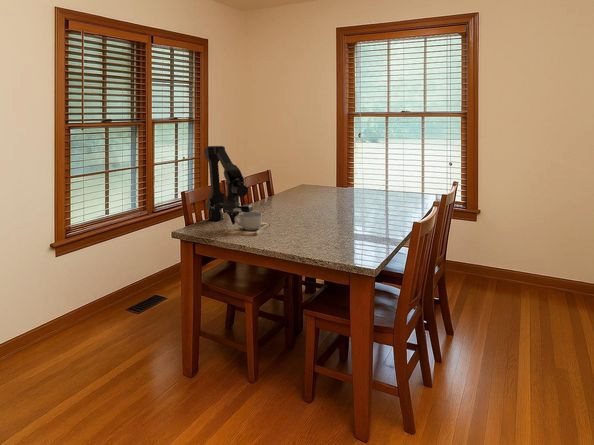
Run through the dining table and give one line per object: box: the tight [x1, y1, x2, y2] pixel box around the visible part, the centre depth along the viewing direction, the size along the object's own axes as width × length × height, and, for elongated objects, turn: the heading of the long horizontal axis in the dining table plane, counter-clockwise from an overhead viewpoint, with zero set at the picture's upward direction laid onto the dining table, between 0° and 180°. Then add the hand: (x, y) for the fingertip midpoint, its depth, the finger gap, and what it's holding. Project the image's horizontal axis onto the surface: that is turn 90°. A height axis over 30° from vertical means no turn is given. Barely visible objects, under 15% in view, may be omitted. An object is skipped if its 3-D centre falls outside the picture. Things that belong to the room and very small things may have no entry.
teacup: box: [234, 210, 263, 231], centre depth 228 cm, size 14×11×8 cm
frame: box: [224, 221, 271, 236], centre depth 228 cm, size 16×20×1 cm
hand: (233, 224), depth 230 cm, fingers closed
